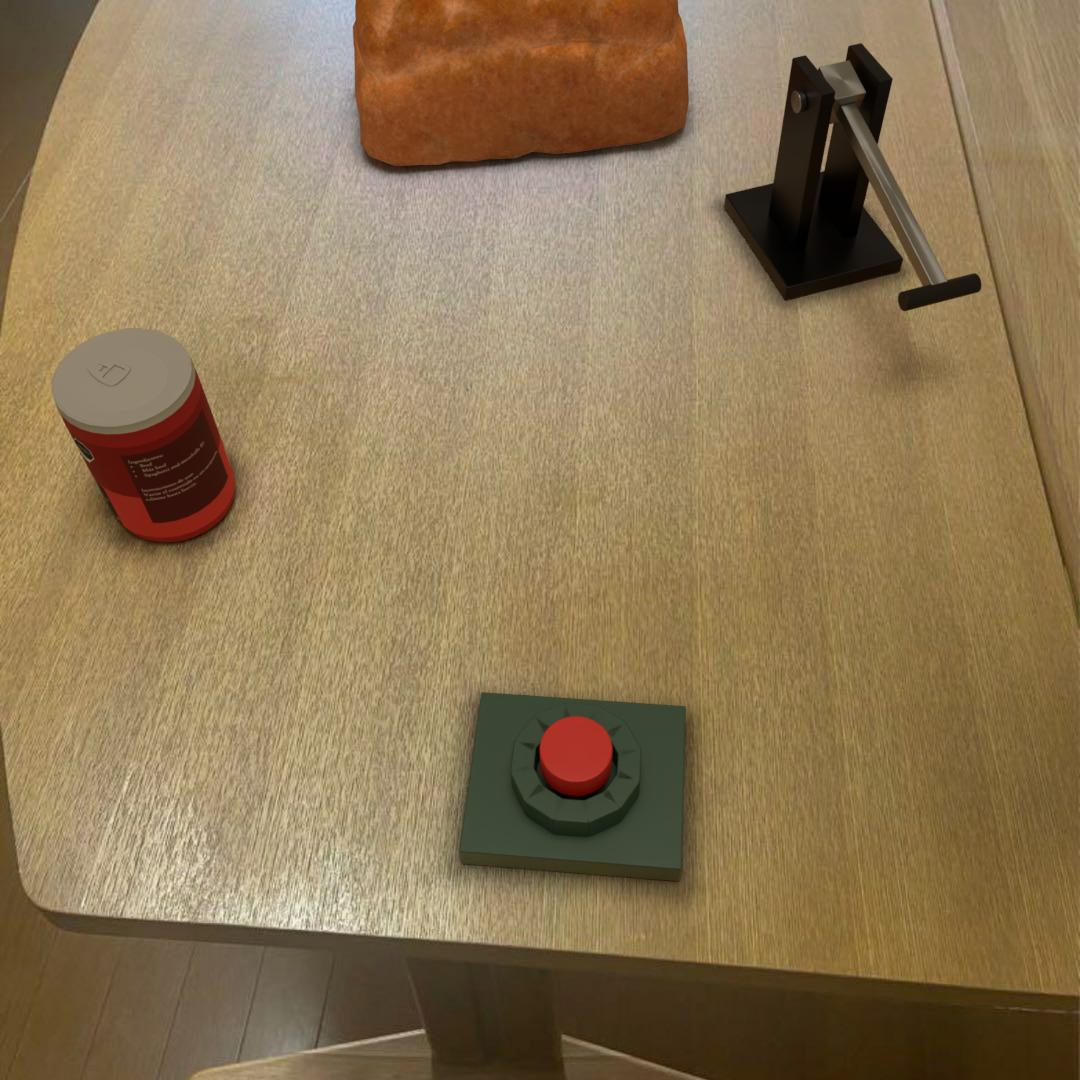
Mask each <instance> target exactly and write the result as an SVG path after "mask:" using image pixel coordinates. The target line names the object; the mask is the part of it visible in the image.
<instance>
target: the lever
mask: <svg viewBox="0 0 1080 1080" xmlns="http://www.w3.org/2000/svg"><path fill="white" fill-rule="evenodd" d="M817 69H818V71H819V72H820V73H821V74H822V76H823V77H824V78H825V79H826V80H827V82H828V83H829V84H830V85H831V87H832V88H833V89H834V90H835V98H834V103H833V108H832V113H831V119H830V124H829V125H833V123H837V122H840V124H841V126H842V128H843V130H844V132H845V134H846V136H847V138H848V140H849V142H850V144H851V146H852V148H853V150H854V152H855V154H856V156H857V158H858V160H859V162H860V164H861V166H862V167H863V169H864V171H865V173H866V175H867V177H868V179H869V184H870V185H871V187H872V189H873V191H874V193H875V195H876V197H877V200H878V201H879V203H880V205H881V207H882V209H883V211H884V213H885V215H886V217H887V219H888V221H889V223H890V225H891V227H892V228H893V230H894V233H895V235H896V236H897V238H898V240H899V242H900V244H901V246H902V248H903V250H904V252H905V254H906V256H907V257H908V261H909V262H910V264H911V266H912V268H913V270H914V272H915V274H916V276H917V278H918V280H919V282H920V284H921V286H918V287H914V288H911V289H907V290H903V291H900V292H899V293H898V295H897V303H898V306H899V309H900V310H901V311H902V312H908V311H911V310H917V309H919V308H923V307H927V306H931V305H935V304H939V303H943V302H947V301H951V300H955V299H958V298H962V297H966V296H970V295H973V294H977V293H979V292H980V291H981V290H982V280H981V277H980V275H979V274H978V273H976V272H973V273H968V274H965V275H961V276H958V277H953V278H950V279H947V277H946V275H945V273H944V271H943V269H942V267H941V265H940V263H939V262H938V259H937V257H936V255H935V253H934V251H933V249H932V248H931V246H930V244H929V242H928V240H927V238H926V236H925V234H924V232H923V230H922V228H921V227H920V224H919V222H918V221H917V219H916V216H915V215H914V213H913V211H912V209H911V207H910V205H909V203H908V201H907V199H906V198H905V196H904V193H903V192H902V190H901V188H900V186H899V183H898V182H897V180H896V178H895V176H894V174H893V172H892V171H891V169H890V166H889V165H888V163H887V161H886V159H885V157H884V155H883V153H882V151H881V149H880V147H879V144H878V145H877V143H876V141H875V139H874V137H873V136H872V134H871V132H870V130H869V128H868V126H867V124H866V122H865V120H864V118H863V116H862V114H861V112H860V110H859V109H860V106H861V104H862V102H863V99H864V97H865V95H866V91H865V89H864V87H863V85H862V83H861V81H860V79H859V78H858V76H857V74H856V72H855V70H854V68H853V66H852V64H851V62H850V61H849V60H848V61H846V60H844V61H839V62H836V63H830V64H826V65H822V66H821V65H820V66H819V67H818V68H817Z"/></svg>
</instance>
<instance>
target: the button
mask: <svg viewBox="0 0 1080 1080" xmlns="http://www.w3.org/2000/svg"><path fill="white" fill-rule="evenodd" d="M612 753H613V747H612V742H611V739H610V736H609V734H608V733H607V731H606V730H605V729H604V728H603V727H602V726H601V725H600V724H599V723H597V722H596V721H594V720H592V719H589V718H586V717H580V716H572V717H566V718H563V719H560V720H558V721H556V722H555V723H553V724H552V725H551V726H550V727H549V728H548V729H547V730H546V731H545V733H544V734H543V736H542V739H541V742H540V765H541V771H542V774H543V777H544V779H545V780H546V782H547V783H548V784H549V785H550V786H551V787H552V788H553V789H554V790H556V791H558V792H559V793H562V794H564V795H568V796H585V795H588V794H591V793H593V792H595V791H597V790H598V789H600V788H601V787H602V786H603V785H604V784H605V782H606V781H607V780H608V778H609V776H610V773H611V769H612Z"/></svg>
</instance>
